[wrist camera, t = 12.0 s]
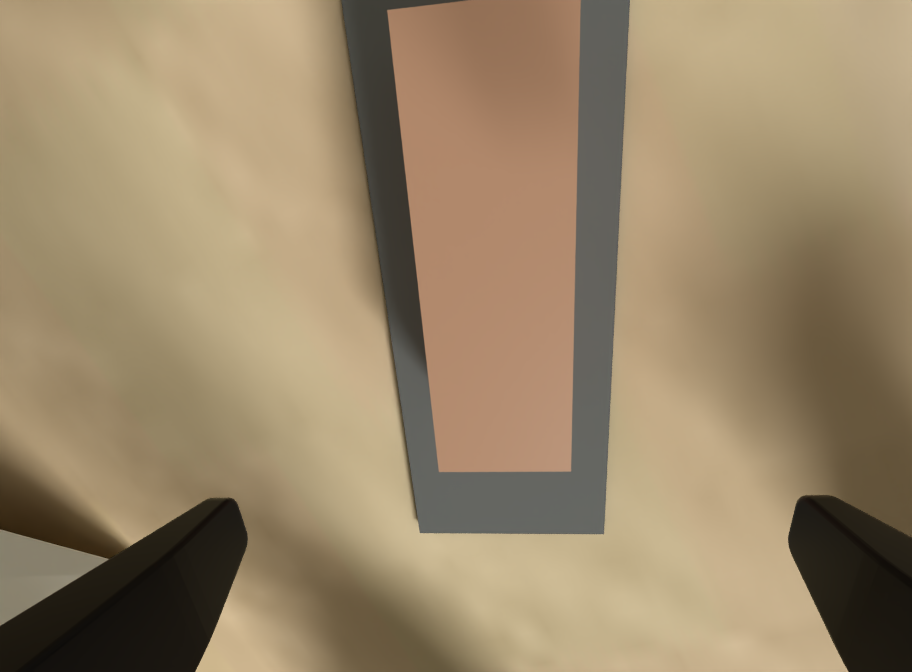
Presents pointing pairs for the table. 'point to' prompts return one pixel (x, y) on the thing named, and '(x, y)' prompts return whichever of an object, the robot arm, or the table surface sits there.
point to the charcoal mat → (597, 226)
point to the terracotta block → (493, 222)
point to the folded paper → (36, 571)
